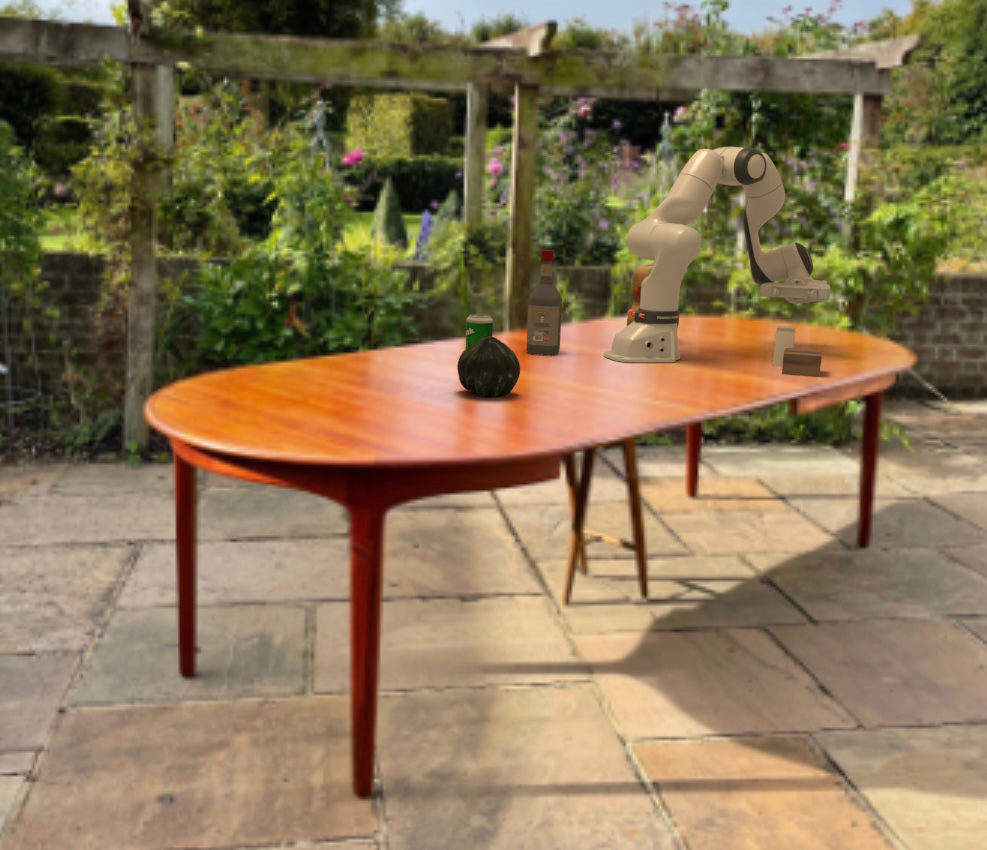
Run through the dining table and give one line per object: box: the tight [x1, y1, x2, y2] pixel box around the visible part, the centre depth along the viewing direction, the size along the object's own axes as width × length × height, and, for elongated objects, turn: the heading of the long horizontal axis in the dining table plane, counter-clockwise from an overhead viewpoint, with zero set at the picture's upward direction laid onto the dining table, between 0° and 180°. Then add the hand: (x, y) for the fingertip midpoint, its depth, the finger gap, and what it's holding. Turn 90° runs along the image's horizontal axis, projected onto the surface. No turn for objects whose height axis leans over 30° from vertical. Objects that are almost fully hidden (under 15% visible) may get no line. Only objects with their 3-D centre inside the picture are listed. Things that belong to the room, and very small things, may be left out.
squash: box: [457, 336, 521, 398], centre depth 260 cm, size 14×15×15 cm
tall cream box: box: [772, 325, 797, 367], centre depth 314 cm, size 5×5×11 cm
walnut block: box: [781, 348, 823, 378], centre depth 303 cm, size 10×10×6 cm
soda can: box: [465, 313, 494, 350], centre depth 309 cm, size 8×8×12 cm
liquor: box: [525, 249, 563, 356], centre depth 319 cm, size 9×9×30 cm
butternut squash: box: [626, 262, 655, 327], centre depth 346 cm, size 14×13×25 cm
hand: (793, 293), depth 322 cm, fingers open, 8 cm apart
